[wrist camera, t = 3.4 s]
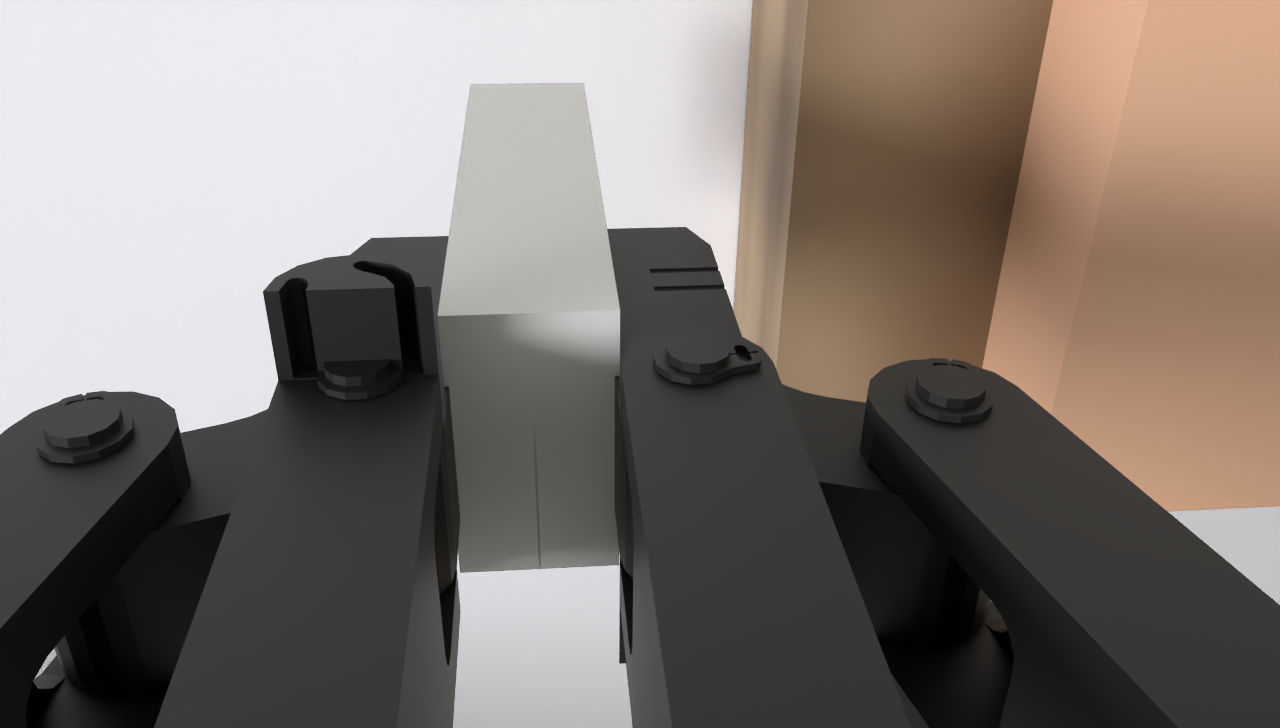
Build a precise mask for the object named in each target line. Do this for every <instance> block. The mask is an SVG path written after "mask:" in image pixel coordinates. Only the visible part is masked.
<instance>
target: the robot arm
mask: <svg viewBox="0 0 1280 728" xmlns="http://www.w3.org/2000/svg"><path fill="white" fill-rule="evenodd" d="M263 294H264V300H265V306H266V311H267V317H268V323H269V329H270V334H271V340H272V346H273V351H274V357H275V363H276V369H277V374H278V380H279V381H278V383H277V386H276V389H275V392H274V395H273V397H272V400H271V403H270V406H269V408H268V409H267V410H265V411H262V412H260V413H258V414H255V415H253V416H251V417H247V418H243V419H240V420H236V421H233V422H229V423H225V424H221V425H216V426H211V427H207V428H202V429H197V430H193V431H188V432H183V433H180V430H179V426H178V422H177V418H176V413H175V409H173V408H172V407H171V406H169V405H168V404H167V403H165V402H164V401H163V400H161V399H160V398H158V397H154V396H149V395H145V394H141V393H136V392H106V391H100V392H92V393H86V395H84V396H82V394H80V395H76V396H71V397H67V398H65V399H62V400H61V401H59V402H57V403H55V404H52V405H49V406H47V407H44V408H42V409H39V410H36V411H34V412H32V413H31V414H29V415H28V416H26V417H25V418H23V419H22V420H20V421H18V422H17V423H15V424H14V425H12V426H11V427H9V428H8V429H7V430H5V431H4V432H3V433H2V434H1V435H0V728H453V714H454V699H455V684H456V668H457V653H458V638H459V623H460V602H459V591H458V580H457V569H456V567H457V554H458V553H459V565H460V573H464V572H484V571H505V570H525V569H545V568H566V567H586V566H607V565H619V552H620V658H619V663H626V666H627V676H628V686H629V695H630V705H631V715H632V724H633V728H1280V605H1279V604H1277V603H1276V602H1275V601H1274V600H1273V599H1271V598H1270V597H1269V596H1268V595H1267V594H1265V593H1264V592H1263V591H1262V590H1261V589H1260V588H1258V587H1257V586H1256V585H1255V584H1254V583H1252V582H1251V581H1250V580H1249V579H1248V578H1246V577H1245V576H1244V575H1243V574H1242V573H1240V572H1239V571H1238V570H1237V569H1236V568H1234V567H1233V566H1232V565H1231V564H1230V563H1228V562H1227V561H1226V560H1225V559H1224V558H1222V557H1221V556H1220V555H1219V554H1218V553H1216V552H1215V551H1214V550H1213V549H1212V548H1210V547H1209V546H1208V545H1207V544H1206V543H1204V542H1203V541H1202V540H1201V539H1200V538H1198V537H1197V536H1196V535H1195V534H1194V533H1192V532H1191V531H1190V530H1189V529H1188V528H1186V527H1185V526H1184V525H1183V524H1182V523H1180V522H1179V521H1178V520H1177V519H1176V518H1174V517H1173V516H1172V515H1171V514H1170V513H1168V512H1167V511H1166V510H1165V509H1164V508H1162V507H1161V506H1160V505H1159V504H1158V503H1157V502H1155V501H1154V500H1153V499H1152V498H1151V497H1149V496H1148V495H1147V494H1146V493H1145V492H1143V491H1142V490H1141V489H1140V488H1139V487H1137V486H1136V485H1135V484H1134V483H1133V482H1131V481H1130V480H1129V479H1128V478H1127V477H1125V476H1124V475H1123V474H1122V473H1121V472H1119V471H1118V470H1117V469H1116V468H1115V467H1113V466H1112V465H1111V464H1110V463H1109V462H1107V461H1106V460H1105V459H1104V458H1103V457H1101V456H1100V455H1099V454H1098V453H1097V452H1095V451H1094V450H1093V449H1092V448H1091V447H1089V446H1088V445H1087V444H1086V443H1085V442H1083V441H1082V440H1081V439H1080V438H1079V437H1077V436H1076V435H1075V434H1074V433H1073V432H1071V431H1070V430H1069V429H1068V428H1067V427H1065V426H1064V425H1063V424H1062V423H1061V422H1060V421H1058V420H1057V419H1056V418H1055V417H1054V416H1052V415H1051V414H1050V413H1049V412H1048V411H1046V410H1045V409H1044V408H1043V407H1042V406H1040V405H1039V404H1038V403H1037V402H1036V401H1034V400H1033V399H1032V398H1031V397H1030V396H1028V395H1027V394H1026V393H1025V392H1024V391H1022V390H1021V389H1020V388H1019V387H1018V386H1016V385H1014V384H1013V383H1011V382H1009V381H1008V380H1006V379H1005V378H1003V377H1001V376H1000V375H998V374H996V373H995V372H992V371H989V370H986V369H983V368H980V367H977V366H974V365H971V364H970V363H968V362H964V361H959V360H954V359H952V360H951V361H948V359H945V358H930V359H923V360H907V361H903V362H900V363H897V364H894V365H891V366H888V367H884V368H883V369H882V370H881V371H879V372H878V373H877V374H876V375H875V376H874V377H873V378H871V379H870V382H869V388H868V393H867V400H866V403H865V402H859V401H852V400H845V399H838V398H831V397H825V396H820V395H816V394H811V393H806V392H802V391H800V390H797V389H794V388H791V387H788V386H786V385H783V384H782V383H781V381H780V378H779V375H778V373H777V370H776V367H775V365H774V362H773V361H772V360H771V358H770V357H769V356H768V354H767V353H766V352H765V351H764V349H763V348H761V347H760V346H758V345H756V344H754V343H753V342H751V341H749V340H747V339H745V338H744V337H742V335H741V332H740V329H739V326H738V323H737V320H736V317H735V315H734V312H733V309H732V306H731V303H730V300H729V297H728V294H727V292H726V289H724V283H723V280H722V277H721V274H720V271H718V266H717V263H716V260H715V257H714V254H713V251H712V248H711V245H709V244H708V243H706V242H705V241H704V240H702V239H701V238H700V237H698V236H697V235H696V234H694V233H693V232H692V231H690V230H689V229H688V228H686V227H671V228H629V229H607V225H606V219H605V213H604V207H603V201H602V194H601V188H600V182H599V176H598V169H597V163H596V157H595V151H594V144H593V138H592V132H591V126H590V119H589V113H588V107H587V101H586V94H585V88H584V83H536V84H470V90H469V97H468V104H467V111H466V118H465V125H464V132H463V140H462V147H461V154H460V161H459V168H458V175H457V182H456V189H455V196H454V203H453V210H452V217H451V224H450V231H449V236H438V237H397V238H371V239H370V240H368V241H367V242H366V243H365V244H363V245H362V246H361V247H360V248H358V249H357V250H356V251H355V252H353V253H352V254H351V255H348V256H339V257H330V258H324V259H321V260H317V261H313V262H310V263H306V264H302V265H299V266H296V267H295V268H293V269H291V270H289V271H287V272H285V273H283V274H281V275H279V276H277V277H275V279H274V280H273V281H272V282H271V283H270V284H269V285H268V286H267V288H266V289H265V290H264V291H263ZM991 601H992V602H993V603H992V602H991ZM54 648H55V651H56V654H57V656H56V657H55V658H54V659H53V661H52V662H51V663H50V664H49V666H48V667H47V668H46V669H45V670H44V672H43V673H42V674H41V675H39V676H38V677H37V678H36V679H35V680H34V678H35V677H36V675H37V673H38V671H39V670H40V668H41V666H42V665H43V663H44V661H45V659H46V658H47V656H48V655H49V654H50V652H51V651H52V650H53V649H54Z"/></svg>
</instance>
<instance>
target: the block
mask: <svg viewBox="0 0 1280 728" xmlns="http://www.w3.org/2000/svg"><path fill="white" fill-rule="evenodd" d="M982 368H983V369H986V370H989V371H992V372H995V373H996V374H998V375H1000V376H1001V377H1003V378H1005V379H1006V380H1008V381H1009V382H1011V383H1013V384H1014V385H1016V386H1018V387H1019V388H1020V389H1021V390H1022V391H1024V392H1025V393H1026V394H1027V395H1028V396H1030V397H1031V398H1032V399H1033V400H1034V401H1036V402H1037V403H1038V404H1039V405H1040V406H1042V407H1043V408H1044V409H1045V410H1046V411H1048V412H1049V413H1050V414H1051V415H1052V416H1054V417H1055V418H1056V419H1057V420H1058V421H1060V422H1061V423H1062V424H1063V425H1064V426H1065V427H1067V428H1068V429H1069V430H1070V431H1071V432H1073V433H1074V434H1075V435H1076V436H1077V437H1079V438H1080V439H1081V440H1082V441H1083V442H1085V443H1086V444H1087V445H1088V446H1089V447H1091V448H1092V449H1093V450H1094V451H1095V452H1097V453H1098V454H1099V455H1100V456H1101V457H1103V458H1104V459H1105V460H1106V461H1107V462H1109V463H1110V464H1111V465H1112V466H1113V467H1115V468H1116V469H1117V470H1118V471H1119V472H1121V473H1122V474H1123V475H1124V476H1125V477H1127V478H1128V479H1129V480H1130V481H1131V482H1133V483H1134V484H1135V485H1136V486H1137V487H1139V488H1140V489H1141V490H1142V491H1143V492H1145V493H1146V494H1147V495H1148V496H1149V497H1151V498H1152V499H1153V500H1154V501H1155V502H1157V503H1158V504H1159V505H1160V506H1161V507H1162V508H1164V509H1165V510H1166V511H1184V510H1205V509H1226V508H1248V507H1269V506H1280V0H1053V5H1052V10H1051V15H1050V20H1049V26H1048V31H1047V36H1046V41H1045V46H1044V51H1043V57H1042V62H1041V67H1040V72H1039V77H1038V82H1037V88H1036V93H1035V98H1034V103H1033V108H1032V113H1031V118H1030V124H1029V129H1028V134H1027V139H1026V144H1025V149H1024V155H1023V160H1022V165H1021V170H1020V175H1019V180H1018V186H1017V191H1016V196H1015V201H1014V206H1013V211H1012V217H1011V222H1010V227H1009V232H1008V237H1007V242H1006V248H1005V253H1004V258H1003V263H1002V268H1001V273H1000V278H999V284H998V289H997V294H996V299H995V304H994V309H993V315H992V320H991V325H990V330H989V335H988V340H987V346H986V351H985V356H984V361H983V366H982Z"/></svg>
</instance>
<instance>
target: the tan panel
mask: <svg viewBox="0 0 1280 728" xmlns="http://www.w3.org/2000/svg"><path fill="white" fill-rule="evenodd" d="M1052 5H1053V0H753V5H752V21H751V37H750V53H749V69H748V85H747V101H746V117H745V133H744V149H743V165H742V181H741V197H740V213H739V229H738V246H737V262H736V278H735V294H734V310H733V312H734V315H735V317H736V320H737V323H738V326H739V329H740V332H741V335H742V337H744V338H745V339H747V340H749V341H751V342H753V343H754V344H756V345H758V346H760V347H761V348H763V349H764V351H765V352H766V353H767V354H768V356H769V357H770V358H771V360H772V361H773V362H774V365H775V367H776V370H777V373H778V375H779V378H780V381H781V383H782V384H783V385H786V386H788V387H791V388H794V389H797V390H800V391H802V392H806V393H811V394H816V395H820V396H825V397H831V398H838V399H845V400H852V401H859V402H865V403H866V400H867V393H868V388H869V382H870V379H871V378H873V377H874V376H875V375H876V374H877V373H878V372H879V371H881V370H882V369H883V368H884V367H888V366H891V365H894V364H897V363H900V362H903V361H907V360H923V359H930V358H945V359H948V361H951V360H952V359H954V360H959V361H964V362H968V363H970V364H971V365H974V366H977V367H980V368H982V366H983V361H984V356H985V351H986V346H987V340H988V335H989V330H990V325H991V320H992V315H993V309H994V304H995V299H996V294H997V289H998V284H999V278H1000V273H1001V268H1002V263H1003V258H1004V253H1005V248H1006V242H1007V237H1008V232H1009V227H1010V222H1011V217H1012V211H1013V206H1014V201H1015V196H1016V191H1017V186H1018V180H1019V175H1020V170H1021V165H1022V160H1023V155H1024V149H1025V144H1026V139H1027V134H1028V129H1029V124H1030V118H1031V113H1032V108H1033V103H1034V98H1035V93H1036V88H1037V82H1038V77H1039V72H1040V67H1041V62H1042V57H1043V51H1044V46H1045V41H1046V36H1047V31H1048V26H1049V20H1050V15H1051V10H1052Z"/></svg>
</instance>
